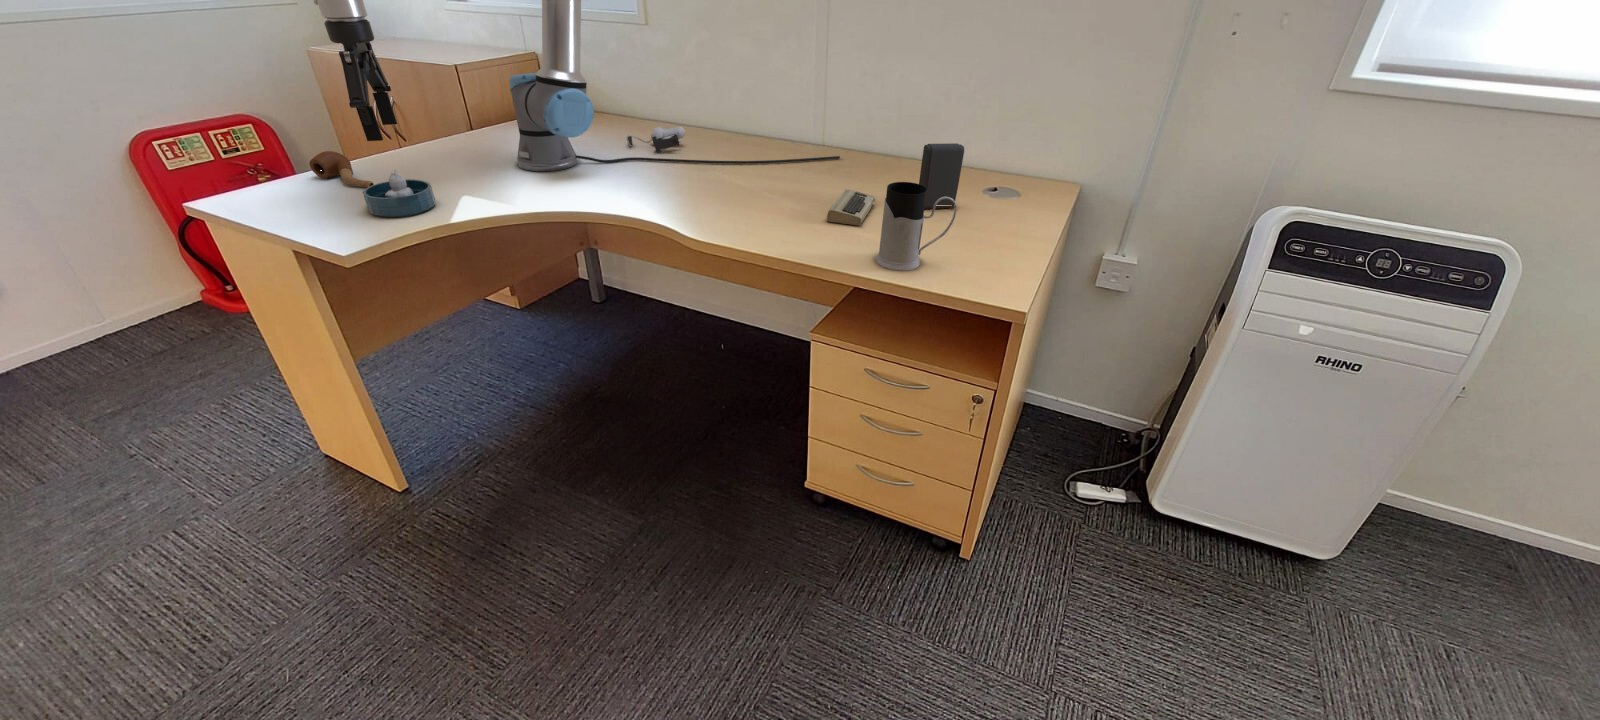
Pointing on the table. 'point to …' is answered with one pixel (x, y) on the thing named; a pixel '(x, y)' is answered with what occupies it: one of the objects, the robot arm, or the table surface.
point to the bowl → (399, 199)
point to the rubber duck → (398, 186)
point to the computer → (850, 207)
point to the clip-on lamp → (663, 138)
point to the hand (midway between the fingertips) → (383, 132)
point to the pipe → (335, 168)
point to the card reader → (941, 173)
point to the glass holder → (904, 226)
